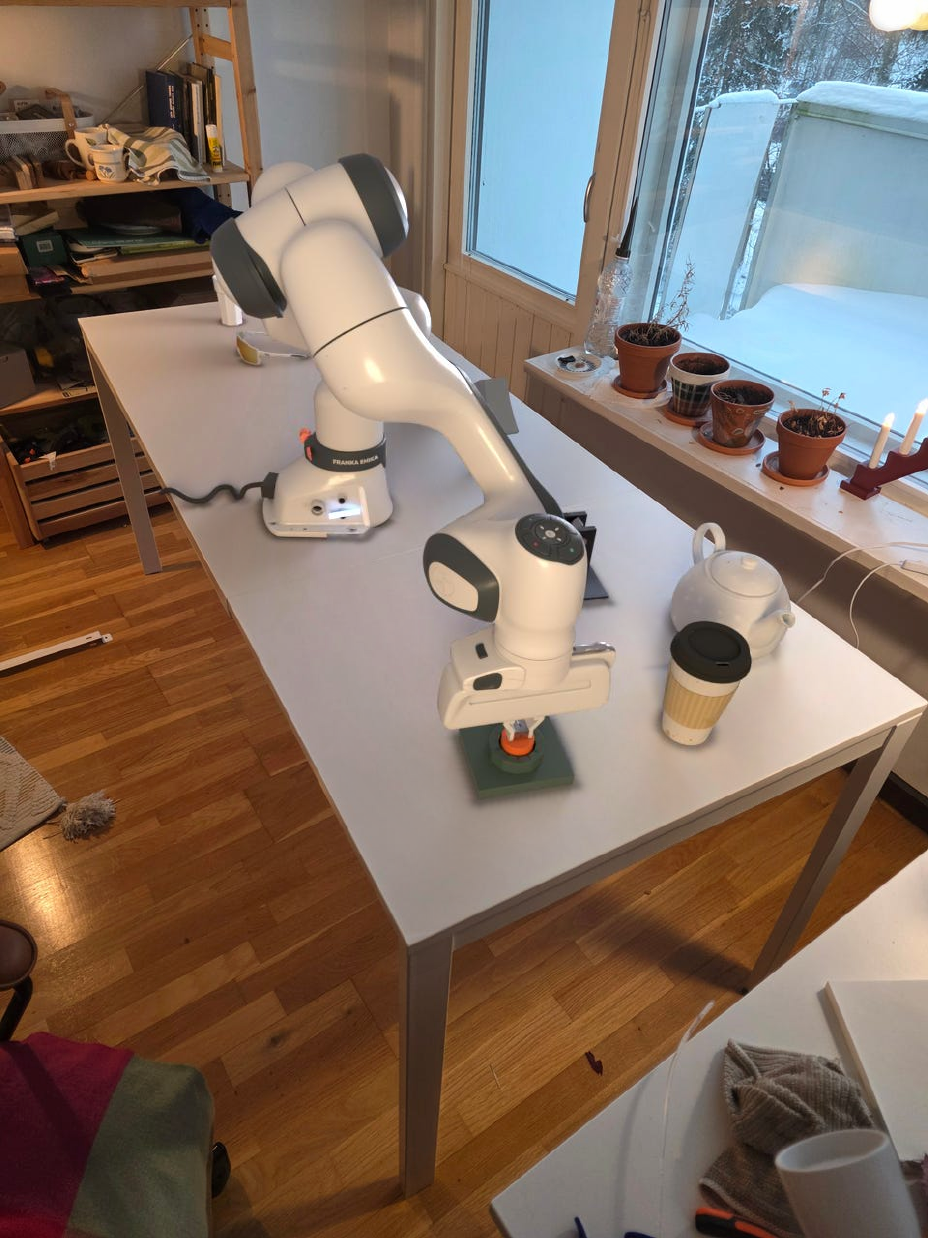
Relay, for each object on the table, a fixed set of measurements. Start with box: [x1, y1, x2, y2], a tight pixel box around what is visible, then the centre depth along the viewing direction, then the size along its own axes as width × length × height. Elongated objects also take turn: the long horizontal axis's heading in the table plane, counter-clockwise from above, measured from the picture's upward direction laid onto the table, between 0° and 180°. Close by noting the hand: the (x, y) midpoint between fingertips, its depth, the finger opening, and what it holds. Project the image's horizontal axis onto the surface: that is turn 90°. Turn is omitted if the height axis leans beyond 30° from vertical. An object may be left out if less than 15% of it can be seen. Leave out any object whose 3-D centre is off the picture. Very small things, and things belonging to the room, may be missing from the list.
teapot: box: [669, 522, 796, 661], centre depth 119 cm, size 19×18×14 cm
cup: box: [211, 274, 243, 327], centre depth 200 cm, size 7×7×11 cm
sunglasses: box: [235, 329, 308, 366], centre depth 189 cm, size 14×15×5 cm
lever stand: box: [562, 510, 610, 602], centre depth 124 cm, size 11×9×13 cm
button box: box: [458, 715, 575, 800], centre depth 99 cm, size 12×10×4 cm
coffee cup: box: [661, 621, 753, 746], centre depth 102 cm, size 10×10×15 cm
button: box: [500, 729, 534, 757], centre depth 98 cm, size 4×4×2 cm
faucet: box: [473, 376, 520, 436], centre depth 161 cm, size 6×17×30 cm
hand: (518, 735), depth 98 cm, fingers closed, pressing on button
